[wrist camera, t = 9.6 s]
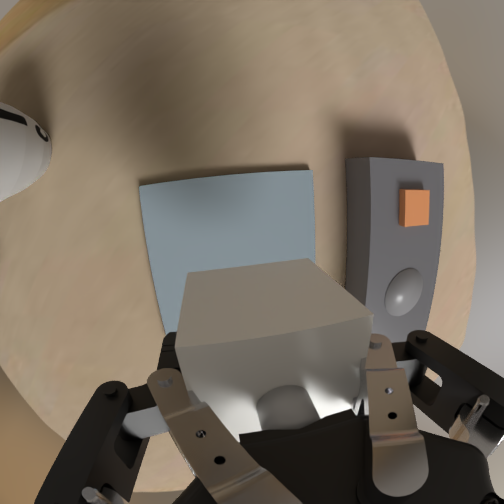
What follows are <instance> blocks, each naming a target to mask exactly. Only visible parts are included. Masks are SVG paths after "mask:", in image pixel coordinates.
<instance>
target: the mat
mask: <svg viewBox="0 0 504 504" xmlns="http://www.w3.org/2000/svg"><path fill="white" fill-rule="evenodd" d="M139 193H140V201H141V209H142V217H143V224H144V230H145V237H146V243H147V249H148V255H149V260H150V266H151V271H152V276H153V281H154V286H155V290H156V295H157V300H158V304H159V308H160V312H161V317H162V321H163V325H164V329H165V333H166V335H167V334H168V333H169V332H177V328H178V322H179V316H180V311H181V305H182V299H183V294H184V288H185V283H186V278H187V273H188V272H197V271H206V270H214V269H223V268H231V267H239V266H248V265H256V264H264V263H272V262H280V261H288V260H296V259H304V258H309V259H310V260H311V261H312V262H313V263H315V216H314V190H313V171H312V170H299V171H277V172H260V173H246V174H234V175H223V176H213V177H203V178H194V179H186V180H178V181H171V182H164V183H157V184H150V185H144V186H139Z"/></svg>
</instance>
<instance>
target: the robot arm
mask: <svg viewBox="0 0 504 504" xmlns="http://www.w3.org/2000/svg"><path fill="white" fill-rule="evenodd" d="M177 329H178V328H177ZM176 335H177V332H169V333H168V334H167V335H166V336H165V337H164V339H163V343H162V348H161V353H160V357H159V362H158V367H157V371H155V372H153V373H152V374H151V375H150V376H149V377H148V379H147V384H144V385H142V386H138V387H134V388H130V389H128V388H127V386H126V385H125V384H124V383H123V382H120V381H109V382H106V383H103V384H102V385H100V386H99V387H98V388H97V389H96V391H95V393H94V394H93V396H92V397H91V399H90V401H89V402H88V404H87V406H86V407H85V409H84V411H83V412H82V414H81V416H80V417H79V419H78V421H77V422H76V424H75V426H74V428H73V429H72V431H71V433H70V435H69V436H68V438H67V440H66V442H65V443H64V445H63V447H62V449H61V451H60V452H59V454H58V456H57V458H56V460H55V462H54V464H53V466H52V467H51V469H50V471H49V473H48V475H47V477H46V479H45V481H44V483H43V485H42V487H41V489H40V491H39V493H38V495H37V498H36V499H35V502H34V504H130V503H129V501H130V498H131V495H132V492H133V488H134V485H135V482H136V479H137V476H138V473H139V469H140V466H141V463H142V460H143V457H144V454H145V451H146V448H147V445H148V442H149V439H150V436H154V435H158V434H161V433H165V432H169V433H170V435H171V437H172V439H173V441H174V443H175V444H176V446H177V448H178V450H179V451H180V453H181V455H182V456H183V458H184V460H185V462H186V463H187V465H188V467H189V468H190V470H191V472H192V473H193V475H194V476H195V479H194V480H193V481H192V482H191V483H190V485H189V486H188V487H187V488H186V489H185V490H184V491H183V492H182V494H181V495H180V496H179V497H178V498H177V499H176V500H175V501H174V502H173V503H172V504H504V499H502V498H500V497H499V496H498V495H496V493H495V492H494V489H493V486H492V483H491V480H490V475H489V468H488V462H487V457H488V456H490V455H491V454H492V453H493V452H494V451H495V449H496V448H497V447H498V446H499V445H500V443H501V442H502V441H503V440H504V378H503V377H501V376H499V375H498V374H496V373H495V372H493V371H492V370H490V369H488V368H487V367H485V366H484V365H482V364H480V363H479V362H477V361H476V360H474V359H472V358H471V357H469V356H468V355H466V354H464V353H463V352H461V351H459V350H458V349H456V348H455V347H453V346H451V345H450V344H448V343H446V342H445V341H443V340H441V339H440V338H438V337H436V336H435V335H433V334H431V333H430V332H427V331H424V330H414V331H412V332H410V333H409V334H408V335H407V340H406V341H405V342H394V343H391V341H390V339H389V338H388V337H386V336H384V335H381V334H374V333H373V334H371V337H370V343H369V348H368V354H367V357H365V358H362V359H361V362H360V368H359V372H360V388H359V393H358V396H357V397H354V398H353V400H352V404H351V409H348V410H345V411H341V412H338V413H335V414H331V415H328V416H325V417H323V418H321V419H319V420H317V421H315V422H313V423H311V424H309V425H307V426H305V427H303V428H301V429H282V430H262V431H256V432H250V433H243V434H239V439H240V442H238V441H237V440H236V439H235V438H234V436H233V435H232V434H231V433H230V432H229V430H228V429H227V428H226V427H225V426H224V424H223V423H222V422H221V421H220V419H219V418H218V417H217V416H216V414H215V413H214V412H213V410H212V409H211V408H210V406H209V405H208V404H207V403H206V402H205V401H203V402H201V401H200V400H199V399H198V397H197V396H196V394H195V393H194V392H193V390H191V391H187V389H186V386H185V382H184V379H183V376H182V372H181V369H180V365H179V362H178V358H177V355H176V351H175V341H176ZM427 367H428V368H430V369H431V370H432V371H434V372H435V373H437V374H438V375H439V376H440V377H441V379H442V387H440V386H439V385H437V384H436V383H435V382H433V381H432V380H431V379H429V378H428V377H426V376H425V373H426V370H427ZM413 404H414V405H415V406H416V407H417V408H419V409H420V410H421V411H422V412H423V413H425V414H426V415H427V416H428V417H429V418H430V419H432V420H433V421H434V422H435V423H436V424H437V425H439V426H440V427H441V428H442V429H443V430H445V431H446V432H447V433H448V434H449V437H450V438H446V437H442V436H439V435H435V434H432V433H428V432H425V431H422V430H418V428H417V422H416V417H415V412H414V408H413Z"/></svg>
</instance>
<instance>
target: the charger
mask: <svg viewBox="0 0 504 504" xmlns="http://www.w3.org/2000/svg"><path fill="white" fill-rule="evenodd" d="M373 317H374V314H373V313H372V312H371V311H370V310H368V309H367V308H366V307H365V306H364V305H363V304H362V303H360V302H359V301H358V300H357V299H356V298H355V297H354V296H352V295H351V294H350V293H349V292H348V291H347V290H345V289H344V288H343V287H342V286H341V285H340V284H338V283H337V282H336V281H335V280H334V279H332V278H331V277H330V276H329V275H328V274H327V273H325V272H324V271H323V270H322V269H321V268H319V267H318V266H317V265H316V264H315V263H313V262H312V261H311V260H310V259H309V258H304V259H296V260H288V261H280V262H272V263H264V264H256V265H248V266H239V267H231V268H223V269H214V270H206V271H197V272H188V273H187V278H186V283H185V288H184V294H183V299H182V305H181V311H180V316H179V322H178V329H177V335H176V341H175V351H176V355H177V358H178V362H179V365H180V369H181V372H182V376H183V379H184V382H185V386H186V389H187V391H191V390H193V392H194V393H195V394H196V396H197V397H198V399H199V400H200V401H201V402H203V401H205V402H206V403H207V404H208V405H209V406H210V408H211V409H212V410H213V412H214V413H215V414H216V416H217V417H218V418H219V419H220V421H221V422H222V423H223V424H224V426H225V427H226V428H227V429H228V430H229V432H230V433H231V434H232V435H233V436H234V438H235V439H236V440H237V441H238V442H240V439H239V434H243V433H250V432H256V431H262V430H282V429H301V428H303V427H305V426H307V425H309V424H311V423H313V422H315V421H317V420H319V419H321V418H323V417H325V416H328V415H331V414H335V413H338V412H341V411H345V410H348V409H351V404H352V400H353V398H354V397H357V396H358V393H359V388H360V372H359V368H360V362H361V359H362V358H365V357H367V354H368V348H369V343H370V337H371V331H372V324H373Z"/></svg>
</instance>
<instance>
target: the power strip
mask: <svg viewBox="0 0 504 504" xmlns="http://www.w3.org/2000/svg"><path fill="white" fill-rule="evenodd" d="M345 161H346V182H347V263H346V284H345V290H347V291H348V292H349V293H350V294H351V295H352V296H354V297H355V298H356V299H357V300H358V301H359V302H360V303H362V304H363V305H364V306H365V307H366V308H367V309H368V310H370V311H371V312H372V313H373V314H374V317H373V324H372V331H371V334H373V333H374V334H381V335H384V336H386V337H388V338H389V339H390V341H391V343H394V342H405V341H406V340H407V335H408V334H409V333H410V332H412V331H414V330H424V331H425V330H426V326H427V322H428V318H429V313H430V309H431V304H432V299H433V294H434V289H435V283H436V277H437V270H438V263H439V256H440V247H441V236H442V224H443V203H444V169H443V164H442V163H434V162H426V161H416V160H405V159H392V158H377V157H363V158H348V159H345Z"/></svg>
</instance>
